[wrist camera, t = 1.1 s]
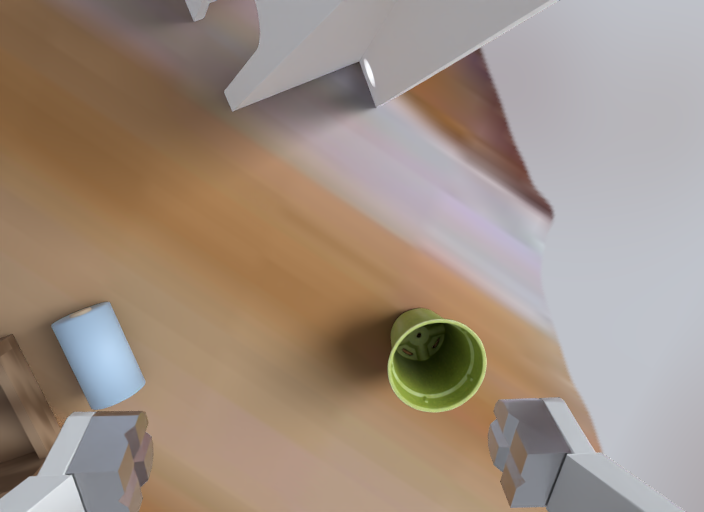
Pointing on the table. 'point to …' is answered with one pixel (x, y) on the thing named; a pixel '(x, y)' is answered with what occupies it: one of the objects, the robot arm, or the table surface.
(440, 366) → the plant pot
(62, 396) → the table surface
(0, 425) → the open wooden box
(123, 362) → the blue roll
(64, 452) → the robot arm
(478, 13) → the white bracket plate
